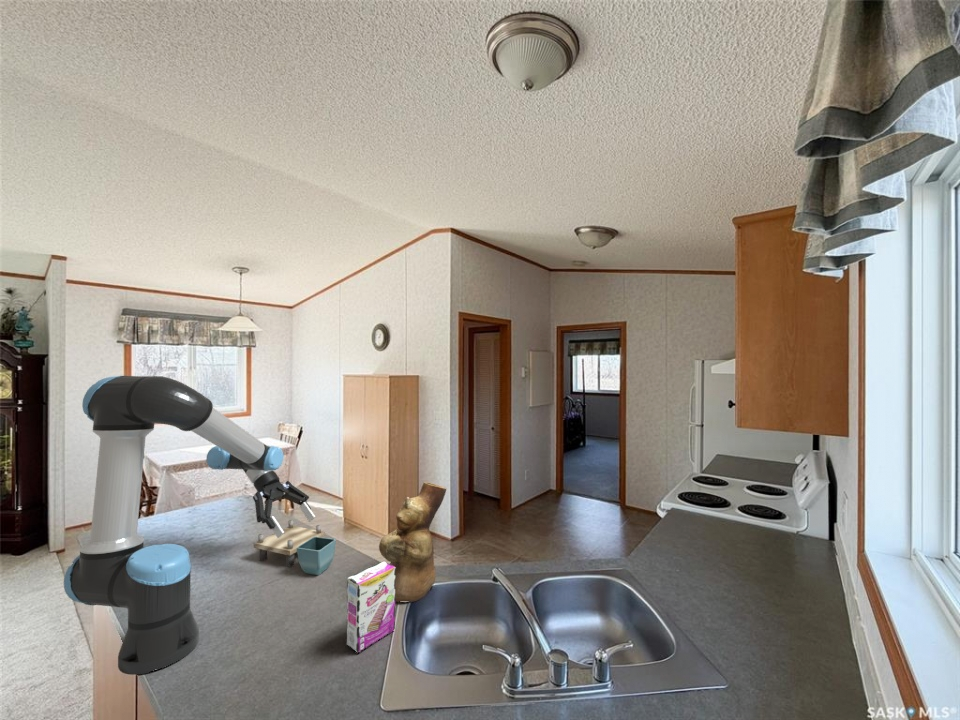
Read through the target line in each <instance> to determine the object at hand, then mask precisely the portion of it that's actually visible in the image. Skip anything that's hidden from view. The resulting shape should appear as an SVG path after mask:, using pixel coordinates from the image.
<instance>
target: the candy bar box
mask: <svg viewBox="0 0 960 720" xmlns="http://www.w3.org/2000/svg"><path fill="white" fill-rule="evenodd" d="M346 581H347V582H346V584H347V585H346V586H347V588H346V589H347V591H346V593H347V594H346V595H347V596H346V599H347V600H346V603H347V604H346V609H347V611H346V646H347V645H348V646H349V647H348V646H347V647H348V648H350V647H351V648H352V649H354V650H355V651H356V652H359V651H361V650H363V649H365V648H366V647H368V646H369V647H371V646H372V645H371V644H373V643H374V642H376V641H377V642H379V641H380V640H382V639H383V637H384V636H385V637H386V635H387V634H388V635H390V634H391V632H392V631H393V630H394V629H395V630H396V621H395V620H396V601H395V567H394V566H392V565H390V563H388V562H386V561H382V562H380V563H377V564H375V565H374V566H371V567H369V568H366V569H364V570H362V571H360V572H358V573H355V574H353V575H350V576H349V577H347V579H346ZM393 632H394V631H393ZM393 632H392V633H393ZM389 633H390V634H389ZM388 635H387V636H388ZM385 637H384V638H385ZM381 638H382V639H381ZM379 639H380V640H379ZM378 640H379V641H378ZM377 642H376V643H377ZM374 644H375V643H374ZM374 644H373V645H374ZM370 645H371V646H370ZM369 647H368V648H369ZM351 648H350V649H351ZM352 649H351V650H352ZM366 649H367V648H366ZM366 649H365V650H366ZM363 651H364V650H363ZM356 652H355V653H356Z"/></svg>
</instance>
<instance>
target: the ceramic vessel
mask: <svg viewBox="0 0 960 720" xmlns="http://www.w3.org/2000/svg"><path fill="white" fill-rule="evenodd" d="M446 493H447V487H445V486H443V485H438V484H436V483H431V482H427V481H424V482H423V483H422V486H421V489H420V491H419V493H418V495H417V496H415V497H411V498H410V497H409V496H407V497H406V498H405V499H404V502H403V503H402V505H401V506H400V508H399V509H398V512H397V514H396V515H395V519H396V522H397V524H396V525H397V528H395V529H394V530H393V531H391V532H389V533H387V534H386V535H384V536H383V537H382V538H381V539H380V541H379V544H378V550H379V553H380V555H381V556H382V557H383V558H384V559H385V560H386V561H387V562H389V564H390V565H392V566H394V567H395V603H396V602H397V603H400V602H399V601H409V602H410V603H409V604H411V603H414V602H417V601H419V600H421V599H423V598H425V596H426V595H427V594H428V593H429V591H430V590H431V588H432V587H433V585H434V584H435V582H436V579H437V578H436V576H437V572H436V568H435V559H434V555H435V554H434V548H435V547H434V543H433V542H434V541H433V536H432V534H431V531H430V526H431V524H432V522H433V520H434V518H435V515H436V514H437V512H438V510H439V508H440V507H441V505H442V503H443V500H444V499H445V495H446Z"/></svg>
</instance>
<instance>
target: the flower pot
mask: <svg viewBox="0 0 960 720" xmlns="http://www.w3.org/2000/svg"><path fill="white" fill-rule="evenodd" d="M336 542H337V540H336V538H331V537H330V538H329V537H313V538H311V539H309V540H308V541H306V542H305V543H303V544H301V545H300V546H298V547H297V552H296V554H297V559H298V563H299V566H300V567H301V568H300V569H302V571H304V572H305V573H306V574H308V575H309V574H310V575H315V576H320V575H321V574H322V573H323V572H324V571H326V570H327V569H328V568H329V567H330V566H331V563H332V562H333V560H334V557H335V552H336Z"/></svg>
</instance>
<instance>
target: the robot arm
mask: <svg viewBox="0 0 960 720" xmlns="http://www.w3.org/2000/svg"><path fill="white" fill-rule="evenodd" d="M81 405H82V411H83V413H84V414H85V415H86V416H87V418H88V419H89V420H90V421H92V423H93V425H92V432H93V433H94V434H95V435H96V436H98V438H99V450H98V459H97V469H96V479H95V487H94V488H95V489H94V499H93V508H92V509H93V510H92V517H91V518H92V519H91V528H90V529H91V530H90V537H89V541H87V543H85V544H84V545H83V546H82V547H81V548H80V551H79V555H77V556H76V557H75V558H74V559H73V560H72V562H71V563H72V564H71V565H69V566H67V569H66V571H65V574H64V577H63V588H64V589H63V590H64V592H65V594H66V596H67V597H68V598H69V599H70V600H72V601H74V602H76V603H81V604H83V605H86V606H87V605H88V606H104V607H112V608H123V609H127V630H126V632H125V635H124V638H123V641H122V643H121V646H120V649H119V652H118V656H117V668H118V670H119V671H120V672H121V673H123V674H124V675H129V676H130V675H132V676H134V675H143V674H149V672H150V671H153V670H155V669H160V668H162V669H164V668H163V667H165V666H167V667H169V666H171V665H173V664H175V663H177V662H179V661H181V660H183V657H184V658H185V657H186V656H188V655H189V654H190V653H191V652H193V650H194V649H196V647H197V645H198V644H199V641H200V629H199V628H200V627H199V625H198V623H197V620H196V619H195V616H194V613H193V612H192V609H191V572H192V571H191V569H192V567H191V566H192V563H191V559H190V553H189V550H188V549H187V548H186V547H185V546H183V545H179V544H176V543H163V544H154V545H150V546H145V547H144V543H145V539H144V537H142V536H141V534H138V525H139V517H140V516H139V515H140V514H139V513H140V502H141V493H142V492H141V491H142V481H143V470H144V468H143V467H144V459H145V449H146V447H145V446H146V437H147V436H148V435H149V434H151V432H153V431H154V429H155V424H161V425H167V426H172V427H175V428H177V429H179V430H181V431H183V432H193V433H194V434H196V435H198V436H200V438H203V439H205V440H206V441H208V442H209V443H211V444H213V445H215V446H213V447H211V448H210V449H209V450H208V452H207V453H206V464H207V466H208V467H209V468H210V469H212V470H221V471H224V470H241V471H244V474H245V475H246V476H247V478H248V479H249V481H250V482H251V484H252V485H253V487H254V488H255V490H256V492H255V493H254V495H253V496H252V499H253V501H254V505H255V506H254V507H255V513H256V516H255V517H256V522H257V523H261V524H266V525H267V527H268V529H269V530H272V531H273V534H274V533H275V535H276V536H277V538H279V537H281V535H282V534H283V533H284V531H283V529H284V528H282V527H281V525H280V523H279V521H278V520H277V519H276V517H275V516H273V515H271V514H272V510H273V509H272V508H273V503H274V502H275V501H277V500H279V501H280V500H281V499H282V500H286V501H290V502H292V503H294V504H296V505H299V510H300V512H302V514H304V516H305V518H306V519H307V520H308V522H309V523H311V522H312V521H313V520H315V518H316V515H315V514H314V512H313V511H312V508H311V506H310V505H309V503H308V500H309V498H310V496H309V495H307V494H306V493H305V492H303V491H302V490H300V488H297V487H296V486H294V485H293V484H292V483H291V481H289V480H286V481H285V482H284V483H283V484H282V483H281V482H280V477H279V476H278V474H277V472H276V471H277V470H278V469H280V467H281V466H282V464H283V462H284V452H283V449H282V448H281V447H279V446H274V445H271V446H269V445H267V444H265V443H263V442H262V441H260V440H259V439H258V438H257V437H255V436H254V435H252V434H251V433H249V432H248V431H246V430H245V429H244V428H242V427H241V426H239V425H238V424H237V423H235V422H234V421H232V420H231V419H230V418H229V417H227V416H226V415H224V414H223V413H221V412H220V411H218V410H217V409H215V408H214V404H213V402H212V401H211V400H210V399H209V398H208V397H206V396H205V395H203V394H202V393H200V392H199V391H197V390H196V389H194V388H193V387H192V386H188V385H187V384H185V383H183V382H181V381H178V380H176V379H173V378H170V377H168V376H167V377H166V376H160V375H155V376H153V375H150V376H149V375H147V376H144V375H142V376H139V375H117V376H108V377H105V378H101V379H100V380H98V381H96V382H95V383H94V384H92V385H91V386H89V388H88V389H87V390H86V392H85V394H84V395H83V397H82V404H81ZM263 499H264V500H263ZM178 660H179V661H178ZM176 661H177V662H176ZM174 662H175V663H174ZM172 663H173V664H172ZM170 664H171V665H170ZM168 665H169V666H168ZM165 668H166V667H165ZM160 670H161V669H160ZM153 672H154V671H153ZM150 673H151V672H150Z"/></svg>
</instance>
